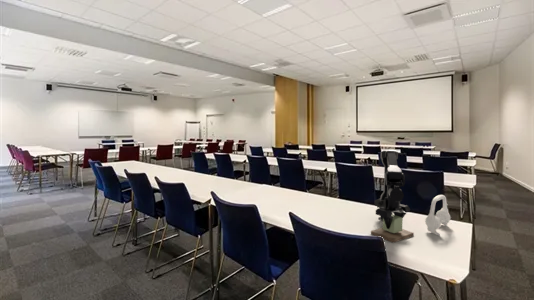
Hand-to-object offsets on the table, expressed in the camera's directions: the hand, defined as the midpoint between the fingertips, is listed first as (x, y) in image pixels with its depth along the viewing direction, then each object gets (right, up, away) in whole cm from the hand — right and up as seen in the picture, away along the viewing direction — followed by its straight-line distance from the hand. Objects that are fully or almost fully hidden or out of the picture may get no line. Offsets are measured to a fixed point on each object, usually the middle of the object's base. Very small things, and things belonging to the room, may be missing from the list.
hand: (392, 227), depth 130 cm
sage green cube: (0, -1, 0) cm, 1 cm away
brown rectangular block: (0, -4, 0) cm, 4 cm away
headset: (+28, -4, +8) cm, 29 cm away
